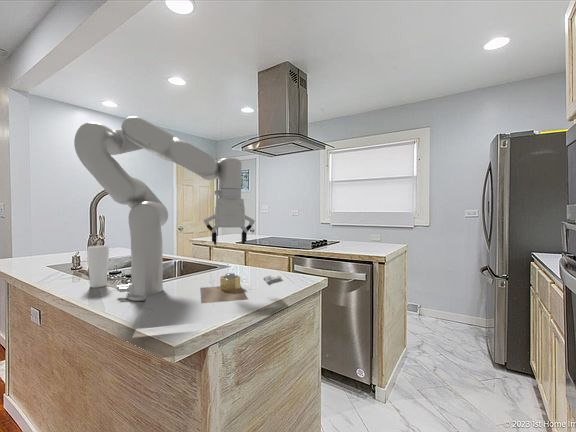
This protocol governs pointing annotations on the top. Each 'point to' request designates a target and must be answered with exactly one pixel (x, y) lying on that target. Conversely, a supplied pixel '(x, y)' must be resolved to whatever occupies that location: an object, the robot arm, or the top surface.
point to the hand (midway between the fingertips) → (229, 243)
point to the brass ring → (229, 283)
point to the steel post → (230, 276)
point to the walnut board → (221, 295)
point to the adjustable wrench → (271, 279)
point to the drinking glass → (98, 265)
